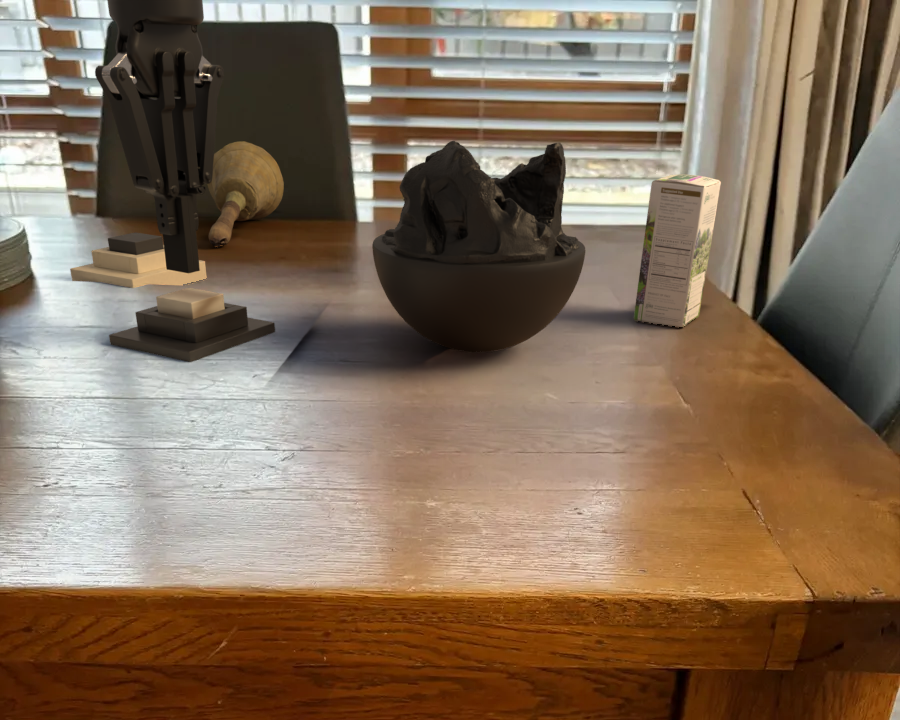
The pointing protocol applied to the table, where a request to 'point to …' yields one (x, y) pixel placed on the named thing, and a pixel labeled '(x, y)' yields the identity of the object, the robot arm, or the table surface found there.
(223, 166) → the handbell
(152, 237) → the key far
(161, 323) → the tiered square pedestal
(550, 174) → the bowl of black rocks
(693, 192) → the syrup box
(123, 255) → the stepped ziggurat stack
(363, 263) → the table surface
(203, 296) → the key near
